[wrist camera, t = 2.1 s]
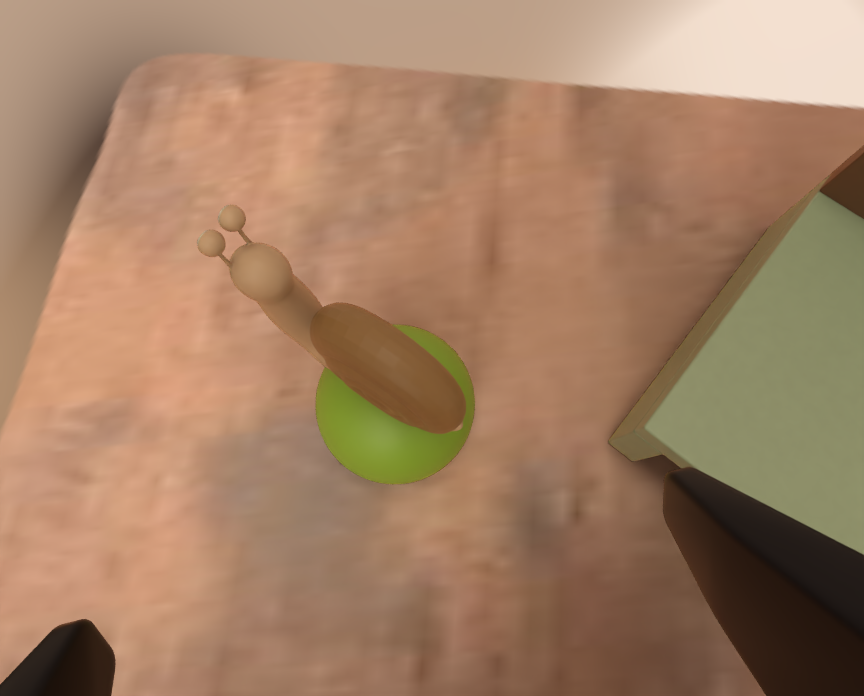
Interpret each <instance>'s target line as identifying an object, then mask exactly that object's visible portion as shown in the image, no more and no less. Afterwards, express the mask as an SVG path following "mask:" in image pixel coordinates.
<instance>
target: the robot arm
mask: <svg viewBox="0 0 864 696" xmlns="http://www.w3.org/2000/svg"><path fill="white" fill-rule="evenodd" d="M663 513H664V517H665V520H666V523H667V525H668V527H669V529H670V531H671V533H672V535H673V537H674V539H675V541H676V543H677V545H678V547H679V549H680V551H681V553H682V554H683V556H684V558H685V560H686V562H687V564H688V566H689V568H690V570H691V572H692V574H693V576H694V578H695V580H696V582H697V584H698V586H699V587H700V589H701V591H702V593H703V595H704V597H705V599H706V601H707V603H708V605H709V607H710V608H711V610H712V612H713V614H714V616H715V617H716V619H717V620H718V622H719V624H720V625H721V627H722V628H723V630H724V632H725V633H726V635H727V636H728V638H729V639H730V641H731V642H732V644H733V645H734V647H735V648H736V650H737V652H738V653H739V655H740V656H741V658H742V659H743V661H744V662H745V664H746V665H747V667H748V668H749V670H750V671H751V673H752V675H753V676H754V678H755V679H756V681H757V682H758V684H759V685H760V687H761V688H762V690H763V691H764V693H765V694H766V696H864V555H863V554H862V553H860V552H858V551H856V550H854V549H852V548H850V547H848V546H846V545H844V544H842V543H840V542H838V541H836V540H834V539H832V538H830V537H828V536H827V535H825V534H823V533H821V532H819V531H817V530H815V529H813V528H811V527H809V526H807V525H805V524H803V523H801V522H799V521H797V520H795V519H793V518H791V517H790V516H788V515H786V514H784V513H782V512H780V511H778V510H776V509H774V508H772V507H770V506H768V505H766V504H764V503H762V502H760V501H758V500H756V499H754V498H753V497H751V496H749V495H747V494H745V493H743V492H741V491H739V490H737V489H735V488H733V487H731V486H729V485H727V484H725V483H723V482H721V481H719V480H717V479H716V478H714V477H712V476H710V475H708V474H706V473H704V472H702V471H700V470H698V469H696V468H693V467H685V468H681V469H677V470H673V471H669V472H668V473H666V475H665V477H664V493H663ZM114 673H115V655H114V652H113V650H112V648H111V647H110V645H109V644H108V643H107V641H106V640H105V639H104V637H103V636H102V635H101V633H100V632H99V631H98V629H97V628H96V627H95V625H94V624H93V623H92V622H91V621H89V620H87V619H81V620H77V621H73V622H69V623H66V624H62V625H59V626H57V627H56V628H54V629H53V630H52V631H51V632H50V633H49V634H48V635H47V636H46V637H45V638H44V639H43V640H42V641H41V642H40V644H39V645H38V646H37V647H36V648H35V649H34V650H33V651H32V652H31V653H30V654H29V655H28V656H27V657H26V658H25V659H24V660H23V661H22V662H21V663H20V664H19V666H18V667H17V668H16V669H15V670H14V671H13V672H12V673H11V674H10V675H9V676H8V677H7V678H6V679H5V680H4V681H3V682H2V683H1V684H0V696H111V693H112V687H113V680H114Z"/></svg>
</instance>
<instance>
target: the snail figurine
mask: <svg viewBox="0 0 864 696" xmlns="http://www.w3.org/2000/svg"><path fill="white" fill-rule="evenodd" d="M245 221H246V217H245V214H244V212H243V210H242V209H241V208H240V207H238V206H236V205H227V206H225V207H224V208H223V209H222V210H221V211H220V213H219V216H218V222H219V224H220V226H221V227H222V228H223V229H225V230H227V231H230V232H235V231H238V232H239V234H240V235H241V236H242V237H243V239H244V240H245V241H246V243H247V244H245V245H243V246H241V247H239V248H238V249H237V250H236V251H235V252H234V253H233V254H232V256H231V259H230V261H229V260H228V259H226V258H225V257H224V256H223V255H222V252H223V251H224V249H225V239H224V237H223V236H222V234H221V233H219V232H218V231H215V230H206V231H204V232H203V233H202V234H201V235H200V237H199V239H198V242H197V246H198V249H199V251H200V252H201V253H202V254H204V255H206V256H208V257H215V256H219V257H220V258H221V259H222V260H223V261H224V262H225V263H226V264H227V266H228V267H229V271H230V276H231V279H232V281H233V283H234V284H235V286H236V287H237V288H238V289H239V290H240V291H241V292H242V293H243V294H244V295H246V296H247V297H249V298H251V299H253V300H255V301H256V302H257V303H258V304H259V305H260V307H261V308H262V310H263V311H264V312H265V314H266V315H267V316H268V317H269V318H270V320H271V321H272V322H273V323H274V324H275V325H276V326H277V327H278V328H279V329H281V330H282V331H283V332H284V333H285V334H287V335H288V336H289V337H291V338H292V339H293V340H295V341H296V342H297V343H298V344H299V345H301V346H302V347H303V348H305V349H306V350H307V351H308V352H309V353H310V354H311V355H312V356H313V357H314V358H315V359H316V360H318V361H319V362H320V363H321V364H322V365H324V366H325V368H324V370H323V372H322V375H321V377H320V380H319V384H318V388H317V393H316V417H317V422H318V426H319V430H320V432H321V435H322V437H323V440H324V442H325V443H326V445H327V447H328V448H329V450H330V451H331V453H332V454H333V455H334V456H335V458H336V459H337V460H338V461H339V462H340V463H341V464H342V465H344V466H345V467H346V468H347V469H349V470H350V471H352V472H353V473H355V474H357V475H359V476H361V477H363V478H365V479H368V480H371V481H374V482H378V483H384V484H405V483H411V482H415V481H419V480H422V479H424V478H427V477H429V476H431V475H433V474H435V473H436V472H438V471H439V470H441V469H442V468H444V467H445V466H446V465H447V464H448V463H449V462H450V461H451V460H452V459H453V458H454V457H455V456H456V455H457V454H458V452H459V451H460V450H461V448H462V447H463V445H464V443H465V441H466V439H467V437H468V435H469V432H470V430H471V426H472V423H473V418H474V410H475V398H474V390H473V385H472V381H471V378H470V376H469V373H468V371H467V369H466V367H465V365H464V363H463V362H462V360H461V359H460V357H459V356H458V354H457V353H456V352H455V351H454V350H453V349H452V348H451V347H450V346H449V345H448V344H447V343H446V342H444V341H443V340H442V339H440V338H439V337H437V336H436V335H434V334H432V333H430V332H428V331H425V330H423V329H420V328H417V327H413V326H407V325H391V324H390V323H388V322H386V321H385V320H383V319H381V318H380V317H378V316H376V315H375V314H373V313H371V312H369V311H367V310H365V309H363V308H360V307H358V306H355V305H352V304H348V303H333V304H330V305H327V306H324V307H322V305H321V304H320V302H319V301H318V300H317V298H316V297H315V296H314V294H313V293H312V292H311V291H310V290H309V289H308V288H307V287H306V286H305V285H304V284H303V283H302V282H301V281H300V280H299V279H298V278H297V277H296V276H295V275H294V274H293V273H292V269H291V266H290V264H289V262H288V260H287V259H286V257H285V256H284V255H283V254H282V253H281V252H280V251H279V250H277V249H276V248H274V247H272V246H270V245H267V244H264V243H253V242H252V241H250V240H249V238H248V237H247V236H246V235H245V234H244V232H243V231H242V230H241V228H242V227H243V226H244V224H245Z"/></svg>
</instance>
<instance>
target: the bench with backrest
mask: <svg viewBox="0 0 864 696" xmlns="http://www.w3.org/2000/svg"><path fill="white" fill-rule="evenodd" d="M608 443H609V444H611V445H612V446H613V447H614V448H616V449H617V450H618V451H619V452H621V453H622V454H623V455H624V456H626V457H627V458H628V459H630V460H631V461H633V462H634V461H638V460H642V459H646V458H650V457H654V456H658V455H662V454H663V455H665V456H666V457H667V458H669V459H670V460H671V461H673V462H674V463H675V464H676V465H678V466H679V467H680V468H685V467H693V468H696V469H698V470H700V471H702V472H704V473H706V474H708V475H710V476H712V477H714V478H716V479H717V480H719V481H721V482H723V483H725V484H727V485H729V486H731V487H733V488H735V489H737V490H739V491H741V492H743V493H745V494H747V495H749V496H751V497H753V498H754V499H756V500H758V501H760V502H762V503H764V504H766V505H768V506H770V507H772V508H774V509H776V510H778V511H780V512H782V513H784V514H786V515H788V516H790V517H791V518H793V519H795V520H797V521H799V522H801V523H803V524H805V525H807V526H809V527H811V528H813V529H815V530H817V531H819V532H821V533H823V534H825V535H827V536H828V537H830V538H832V539H834V540H836V541H838V542H840V543H842V544H844V545H846V546H848V547H850V548H852V549H854V550H856V551H858V552H860V553H862V554H863V555H864V146H863V147H861V148H860V149H859V150H858V151H857V152H856V153H854V154H853V155H852V156H851V157H850V158H849V159H847V160H846V161H845V162H844V163H843V164H842V165H840V166H839V167H838V168H837V169H836V170H835V171H833V172H832V174H831V175H829V176H828V177H827V178H826V179H824V180H823V181H822V182H821V183H820V184H819V185H817V186H816V187H815V188H814V189H813V190H811V191H810V192H809V193H808V194H807V195H806V196H804V197H803V198H802V199H801V200H800V201H799V202H797V203H796V204H795V205H794V206H793V207H792V208H790V209H789V210H788V211H787V212H786V213H785V214H783V215H782V216H781V217H780V218H779V219H778V220H776V221H775V222H774V223H773V224H772V225H771V226H769V228H768V229H767V230H766V232H765V233H764V234H763V236H762V237H761V238H760V240H759V241H758V242H757V244H756V245H755V246H754V248H753V249H752V250H751V252H750V253H749V254H748V256H747V257H746V258H745V260H744V261H743V262H742V264H741V265H740V266H739V268H738V269H737V270H736V272H735V273H734V274H733V276H732V277H731V278H730V280H729V281H728V282H727V284H726V285H725V286H724V288H723V289H722V290H721V292H720V293H719V294H718V296H717V297H716V298H715V300H714V301H713V302H712V304H711V305H710V306H709V308H708V309H707V310H706V312H705V313H704V314H703V316H702V317H701V318H700V320H699V321H698V322H697V323H696V325H695V326H694V327H693V329H692V330H691V331H690V333H689V334H688V335H687V337H686V338H685V339H684V341H683V342H682V343H681V345H680V346H679V347H678V349H677V350H676V351H675V353H674V354H673V355H672V357H671V358H670V359H669V361H668V362H667V363H666V365H665V366H664V367H663V369H662V370H661V371H660V373H659V374H658V375H657V377H656V378H655V379H654V381H653V382H652V383H651V385H650V386H649V387H648V389H647V390H646V391H645V393H644V394H643V395H642V397H641V398H640V399H639V401H638V402H637V403H636V405H635V406H634V407H633V409H632V410H631V411H630V413H629V414H628V415H627V417H626V418H625V419H624V421H623V422H622V423H621V424H620V426H619V427H618V428H617V430H616V431H615V432H614V434H613V435H612V436H611V438H610V439H609V440H608Z"/></svg>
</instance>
